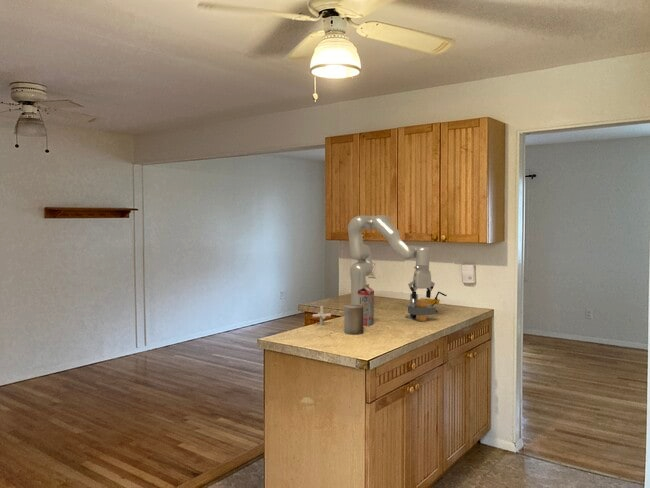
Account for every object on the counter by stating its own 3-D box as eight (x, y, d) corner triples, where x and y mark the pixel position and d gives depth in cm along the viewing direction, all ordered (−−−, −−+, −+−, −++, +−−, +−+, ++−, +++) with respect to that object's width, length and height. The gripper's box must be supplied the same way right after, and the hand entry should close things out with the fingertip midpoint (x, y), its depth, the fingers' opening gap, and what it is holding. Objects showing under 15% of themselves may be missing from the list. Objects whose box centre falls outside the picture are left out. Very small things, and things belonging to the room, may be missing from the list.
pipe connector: (314, 326, 268) (315, 308, 267) (310, 323, 277) (310, 305, 277) (332, 326, 271) (333, 307, 270) (327, 322, 280) (328, 304, 280)
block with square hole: (417, 322, 282) (418, 297, 281) (400, 317, 298) (400, 293, 297) (435, 321, 286) (435, 296, 286) (417, 315, 303) (417, 292, 302)
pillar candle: (367, 332, 255) (367, 303, 254) (354, 335, 248) (354, 305, 248) (353, 329, 262) (353, 301, 261) (340, 332, 255) (340, 303, 255)
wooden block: (416, 320, 290) (416, 299, 289) (422, 319, 291) (422, 299, 291) (420, 321, 286) (420, 300, 285) (426, 320, 288) (426, 300, 287)
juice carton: (373, 324, 276) (374, 284, 275) (368, 326, 270) (368, 285, 269) (362, 323, 279) (363, 283, 278) (357, 325, 274) (357, 284, 273)
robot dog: (445, 314, 309) (445, 292, 308) (417, 311, 318) (417, 290, 317) (447, 312, 314) (448, 291, 313) (419, 310, 323) (420, 289, 322)
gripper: (413, 269, 280) (412, 299, 281) (438, 268, 287) (437, 298, 288) (405, 267, 287) (404, 297, 288) (430, 267, 294) (429, 296, 295)
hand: (421, 298), depth 288 cm, fingers open, 9 cm apart
